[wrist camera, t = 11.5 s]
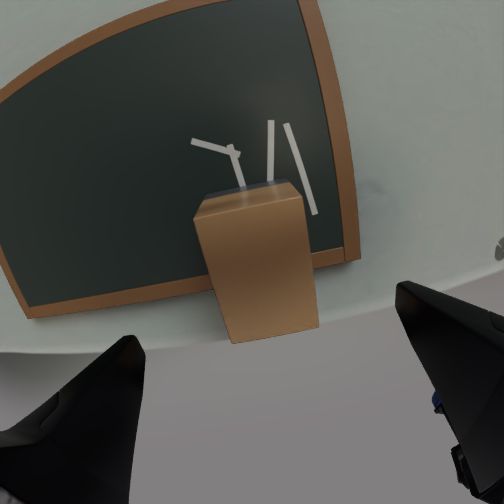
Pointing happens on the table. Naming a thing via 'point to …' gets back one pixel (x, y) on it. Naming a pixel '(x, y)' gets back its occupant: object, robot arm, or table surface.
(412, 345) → the robot arm
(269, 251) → the eraser
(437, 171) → the table surface
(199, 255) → the chalkboard
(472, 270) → the table surface
